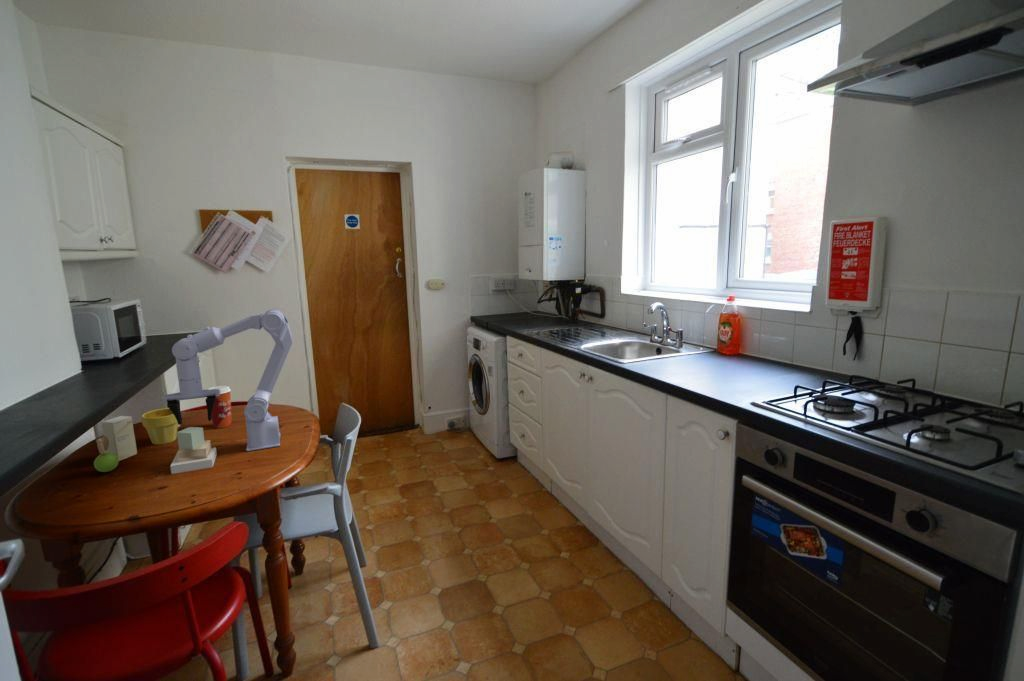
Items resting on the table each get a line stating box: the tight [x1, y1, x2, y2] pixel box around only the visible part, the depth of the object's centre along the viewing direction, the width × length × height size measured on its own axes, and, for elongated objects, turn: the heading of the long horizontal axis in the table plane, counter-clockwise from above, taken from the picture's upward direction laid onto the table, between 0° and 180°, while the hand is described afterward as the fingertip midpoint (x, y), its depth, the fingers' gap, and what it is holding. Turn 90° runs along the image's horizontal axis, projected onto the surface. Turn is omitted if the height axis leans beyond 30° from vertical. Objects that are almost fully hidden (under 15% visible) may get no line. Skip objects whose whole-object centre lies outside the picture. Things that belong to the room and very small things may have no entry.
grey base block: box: [170, 446, 218, 475], centre depth 143 cm, size 10×10×3 cm
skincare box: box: [100, 415, 138, 462], centre depth 148 cm, size 6×4×12 cm
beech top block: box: [176, 439, 212, 462], centre depth 143 cm, size 7×7×3 cm
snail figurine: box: [93, 434, 120, 473], centre depth 138 cm, size 5×6×12 cm
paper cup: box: [206, 385, 233, 429], centre depth 174 cm, size 8×8×14 cm
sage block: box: [177, 426, 206, 450], centre depth 142 cm, size 4×4×5 cm
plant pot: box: [141, 407, 179, 445], centre depth 161 cm, size 10×10×10 cm
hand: (195, 421), depth 149 cm, fingers open, 7 cm apart
